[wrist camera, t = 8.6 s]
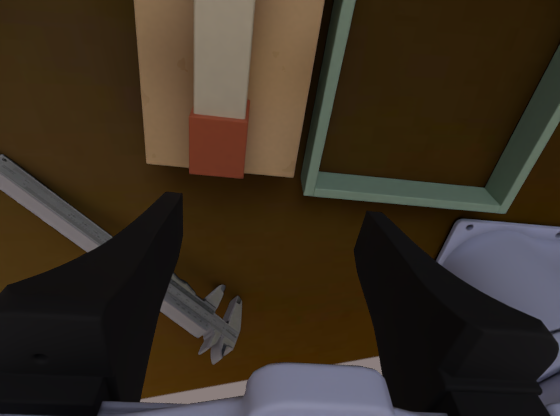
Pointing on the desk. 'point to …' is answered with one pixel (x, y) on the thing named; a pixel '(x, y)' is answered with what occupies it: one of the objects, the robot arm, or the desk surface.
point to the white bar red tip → (220, 87)
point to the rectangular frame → (493, 198)
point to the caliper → (89, 236)
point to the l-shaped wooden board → (261, 88)
